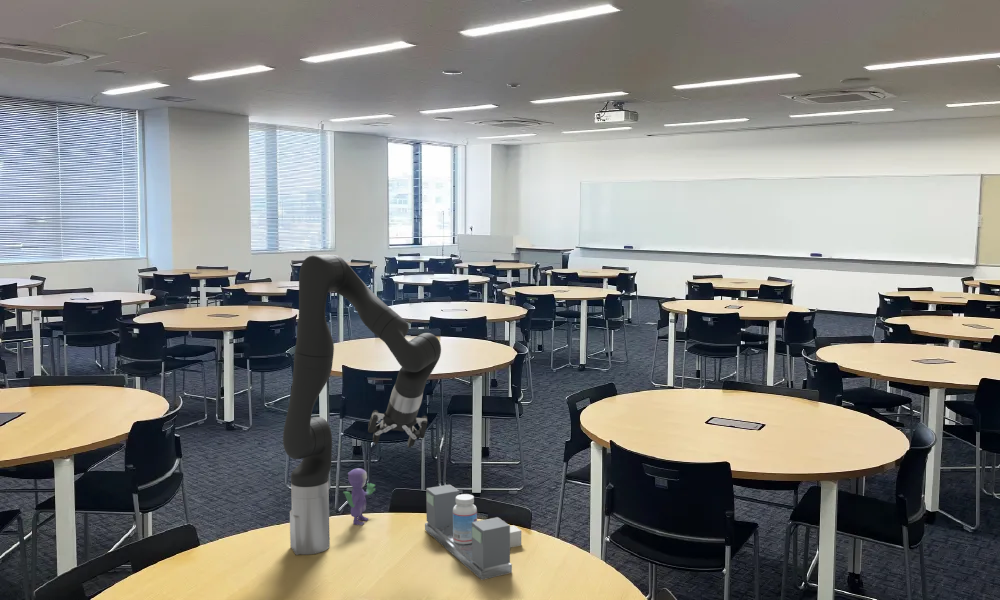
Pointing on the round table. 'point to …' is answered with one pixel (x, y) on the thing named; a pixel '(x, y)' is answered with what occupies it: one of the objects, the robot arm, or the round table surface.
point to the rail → (465, 553)
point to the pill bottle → (464, 518)
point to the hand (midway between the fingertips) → (392, 443)
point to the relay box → (515, 536)
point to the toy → (358, 494)
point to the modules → (486, 534)
